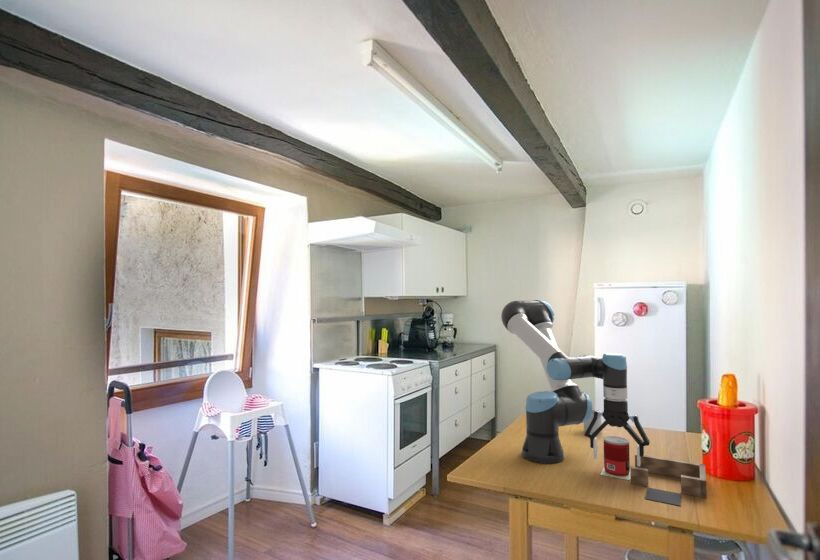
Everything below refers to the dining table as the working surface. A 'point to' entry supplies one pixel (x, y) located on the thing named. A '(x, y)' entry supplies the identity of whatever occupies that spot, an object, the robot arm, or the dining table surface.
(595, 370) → the robot arm
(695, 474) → the wooden walled channel
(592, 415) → the cup
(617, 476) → the pad
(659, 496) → the mat
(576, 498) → the dining table surface
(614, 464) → the canned food
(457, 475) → the dining table surface
